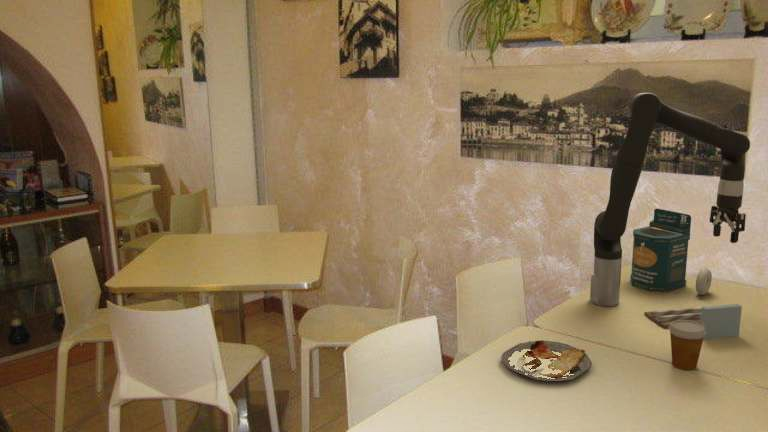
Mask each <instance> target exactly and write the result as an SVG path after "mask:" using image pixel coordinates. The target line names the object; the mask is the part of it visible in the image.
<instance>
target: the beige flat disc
mask: <svg viewBox="0 0 768 432" xmlns="http://www.w3.org/2000/svg"><path fill="white" fill-rule="evenodd" d="M712 277H713V275H712V271H711V270H710V269H709V268H701V269H700V270H699V271H698V273H697V275H696V279H695V291H696V293H697V294H698V295H700V296H705V295H706V294H708V293H709V291H710V288H711V285H712V280H713V279H712Z"/></svg>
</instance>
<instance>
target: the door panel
mask: <svg viewBox="0 0 768 432" xmlns="http://www.w3.org/2000/svg"><path fill="white" fill-rule="evenodd" d="M701 307H702V312H701V323H700V324H701V325H703V326H704V327H705V331H706V335H705V336H704V338H703V340H712V339H713V340H714V339H722V338H735V337H739V336H740V328H741V317H742V309H743V306H742V305H740V304H739V303H733V304H732V303H731V304H721V305H718V304H717V305H709V306H707V305H706V306H701Z"/></svg>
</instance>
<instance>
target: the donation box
mask: <svg viewBox="0 0 768 432" xmlns="http://www.w3.org/2000/svg"><path fill="white" fill-rule="evenodd" d="M691 223H692V216H691V214H686V213H682V212H677V211H673V210H667V209H662V208H655V209H654V211H653V219H652V220H650V221H649V226H644V227H641V228H640V227H639V228H636V229H633V231H632V236H633V245H632V258H631V260H632V261H631V272H630V273H631V274H630V276H629V277H630V278H629V279H630V280H629V282H630V285H631V286H632V287H634V288H639V289H641V290H645V291H646V292H659V293H668V292H671V291H674V290H678V289H681V288H684V287H686V286H687V280H686V275H687V274H686V273H687V272H686V271H687V262H688V249H689V241H690V239H691V226H692V225H691Z"/></svg>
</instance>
